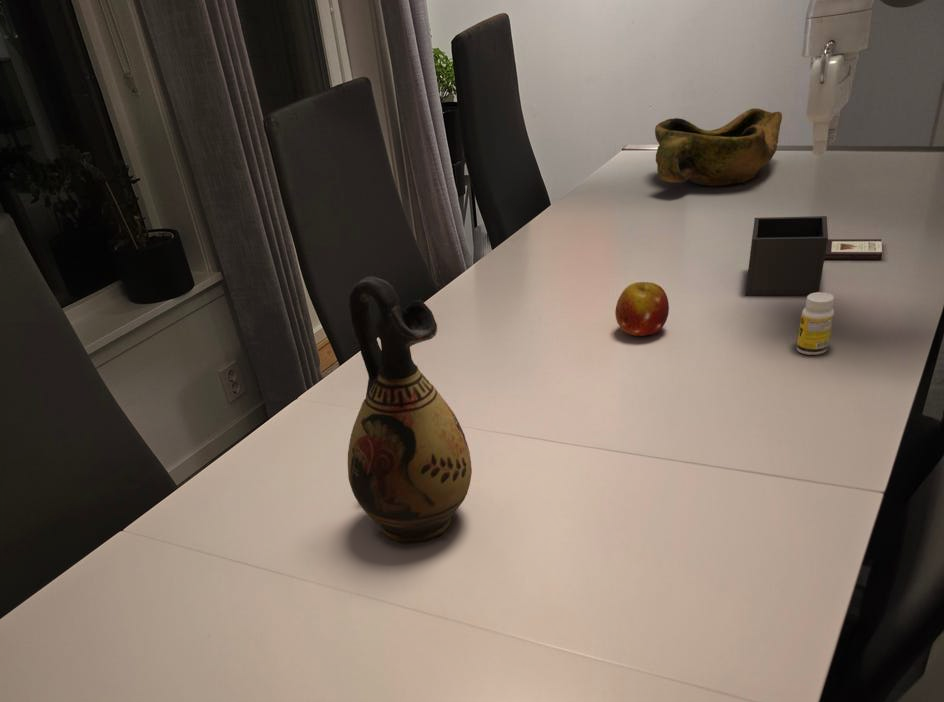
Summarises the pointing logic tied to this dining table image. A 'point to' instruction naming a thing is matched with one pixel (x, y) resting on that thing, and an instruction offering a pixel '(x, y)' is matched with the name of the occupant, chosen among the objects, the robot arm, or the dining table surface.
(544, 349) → the dining table surface
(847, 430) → the dining table surface
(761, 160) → the bowl
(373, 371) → the ceramic jug
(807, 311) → the supplement bottle
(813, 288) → the trash bin
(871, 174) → the dining table surface
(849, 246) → the chocolate bar
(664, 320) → the fruit
